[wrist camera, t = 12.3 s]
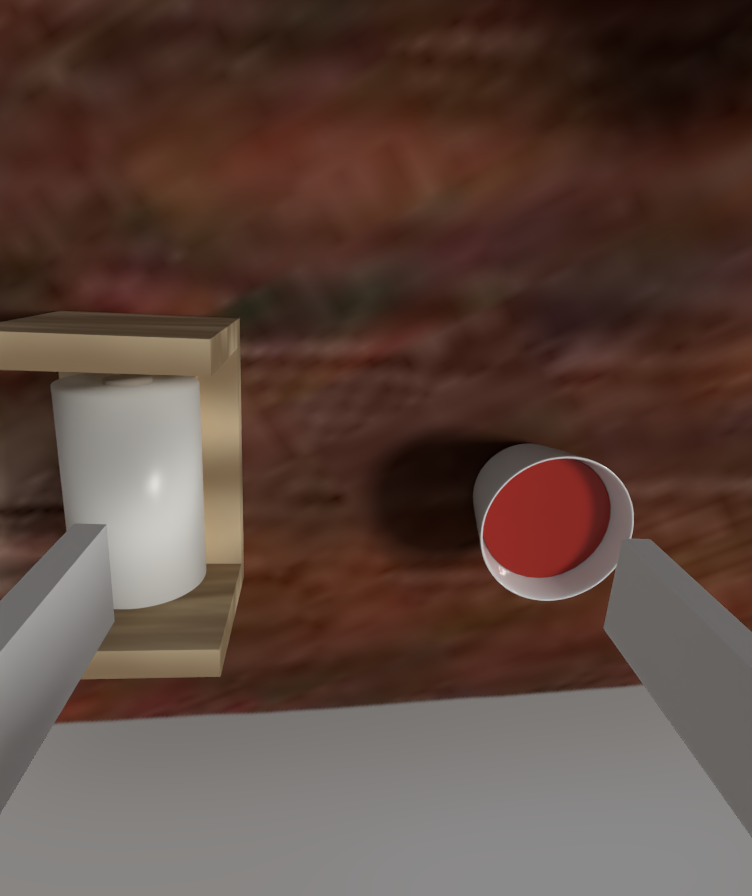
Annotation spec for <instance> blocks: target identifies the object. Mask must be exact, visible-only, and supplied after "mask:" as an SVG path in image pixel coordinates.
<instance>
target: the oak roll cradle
mask: <svg viewBox="0 0 752 896" xmlns="http://www.w3.org/2000/svg"><path fill="white" fill-rule="evenodd" d="M0 370H20V371H52V372H59V379H61V378H64V377H68V376H73V375H79V374H85V373H115V374H147V375H179V376H192V377H194V378H196V379H198V380H199V383H200V410H201V437H202V464H203V491H204V518H205V545H206V575H205V577H204V579H203V581H202V582H201V583H200V584H199V585H198V586H197V587H196V588H195V589H193V590H192V591H190V592H189V593H187V594H185V595H183V596H181V597H179V598H177V599H175V600H172V601H169V602H166V603H163V604H159V605H155V606H150V607H145V608H138V609H114V620H115V621H114V623H113V625H112V626H111V628H110V630H109V632H108V633H107V635H106V637H105V638H104V640H103V642H102V643H101V645H100V647H99V648H98V650H97V652H96V653H95V655H94V657H93V658H92V660H91V662H90V664H89V665H88V667H87V669H86V670H85V672H84V674H83V675H82V677H81V679H117V678H171V677H220V676H221V672H222V667H223V663H224V659H225V655H226V650H227V646H228V642H229V638H230V633H231V629H232V625H233V621H234V616H235V612H236V608H237V604H238V599H239V595H240V591H241V587H242V582H243V578H244V557H243V496H242V435H241V374H240V318H226V317H202V316H178V315H154V314H129V313H105V312H81V311H57V312H51V313H46V314H41V315H36V316H30V317H25V318H20V319H14V320H9V321H4V322H0Z"/></svg>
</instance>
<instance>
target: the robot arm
mask: <svg viewBox="0 0 752 896" xmlns="http://www.w3.org/2000/svg"><path fill="white" fill-rule="evenodd" d="M114 621H115V620H114V608H113V596H112V584H111V572H110V560H109V548H108V536H107V524H73V525H72V526H71V527H70V528H69V529H68V530H67V531H66V533H65V534H64V535H63V536H62V537H61V538H60V539H59V540H58V541H57V542H56V543H55V544H54V545H53V546H52V547H51V548H50V549H49V550H48V551H47V552H46V553H45V555H44V556H43V557H42V558H41V559H40V560H39V561H38V562H37V563H36V564H35V565H34V566H33V567H32V568H31V569H30V570H29V571H28V572H27V573H26V574H25V575H24V576H23V578H22V579H21V580H20V581H19V582H18V583H17V584H16V585H15V586H14V587H13V588H12V589H11V590H10V591H9V592H8V593H7V594H6V595H5V596H4V597H3V598H2V600H1V601H0V813H1V812H2V810H3V808H4V807H5V805H6V803H7V801H8V800H9V798H10V796H11V795H12V793H13V791H14V790H15V788H16V786H17V785H18V783H19V781H20V780H21V778H22V776H23V775H24V773H25V771H26V769H27V768H28V766H29V764H30V763H31V761H32V759H33V758H34V756H35V754H36V753H37V751H38V749H39V748H40V746H41V744H42V743H43V741H44V739H45V738H46V736H47V734H48V732H49V731H50V729H51V727H52V726H53V724H54V722H55V721H56V719H57V717H58V716H59V714H60V712H61V711H62V709H63V707H64V706H65V704H66V702H67V701H68V699H69V697H70V695H71V694H72V692H73V690H74V689H75V687H76V685H77V684H78V682H79V680H80V679H81V677H82V675H83V674H84V672H85V670H86V669H87V667H88V665H89V664H90V662H91V660H92V658H93V657H94V655H95V653H96V652H97V650H98V648H99V647H100V645H101V643H102V642H103V640H104V638H105V637H106V635H107V633H108V632H109V630H110V628H111V626H112V625H113V623H114ZM603 629H604V630H605V631H606V633H607V634H608V636H609V637H610V638H611V640H612V641H613V643H614V644H615V645H616V647H617V648H618V650H619V651H620V652H621V654H622V655H623V657H624V658H625V659H626V661H627V662H628V664H629V665H630V667H631V668H632V669H633V671H634V672H635V674H636V675H637V676H638V678H639V679H640V681H641V682H642V683H643V685H644V686H645V688H646V689H647V690H648V692H649V693H650V694H651V696H652V697H653V699H654V700H655V702H656V703H657V704H658V706H659V707H660V709H661V710H662V711H663V713H664V714H665V716H666V717H667V719H668V720H669V721H670V723H671V724H672V726H673V727H674V728H675V730H676V731H677V733H678V734H679V735H680V737H681V738H682V740H683V741H684V743H685V744H686V745H687V747H688V748H689V750H690V751H691V752H692V754H693V755H694V757H695V758H696V759H697V760H698V762H699V764H701V766H702V768H703V769H704V770H705V772H706V773H707V775H708V776H709V778H710V779H711V781H712V782H713V783H714V785H715V786H716V788H717V789H718V790H719V792H720V793H721V794H722V796H723V797H724V799H725V800H726V802H727V803H728V804H729V806H730V807H731V809H732V810H733V811H734V813H735V814H736V816H737V817H738V818H739V820H740V821H741V823H742V824H743V826H744V827H745V828H746V830H747V831H748V833H749V834H750V835H751V837H752V632H751V631H750V630H749V629H747V628H746V627H745V626H744V625H743V624H742V623H741V622H740V621H739V620H738V619H737V618H735V617H734V616H733V615H732V614H731V613H730V612H729V611H728V610H727V609H726V608H725V607H723V606H722V605H721V604H720V603H719V602H718V601H717V600H716V599H715V598H714V597H713V596H711V595H710V594H709V593H708V592H707V591H706V590H705V589H704V588H703V587H702V586H701V585H699V584H698V583H697V582H696V581H695V580H694V579H693V578H692V577H691V576H690V575H689V574H687V573H686V572H685V571H684V570H683V569H682V568H681V567H680V566H679V565H678V564H677V563H675V562H674V561H673V560H672V559H671V558H670V557H669V556H668V555H667V554H666V553H665V552H663V551H662V550H661V549H660V548H659V547H658V546H657V545H656V544H655V543H654V542H653V541H651V540H650V539H622V542H621V547H620V551H619V556H618V561H617V566H616V571H615V576H614V580H613V585H612V590H611V595H610V600H609V604H608V609H607V614H606V619H605V624H604V628H603Z"/></svg>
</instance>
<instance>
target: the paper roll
mask: <svg viewBox="0 0 752 896" xmlns="http://www.w3.org/2000/svg"><path fill="white" fill-rule="evenodd" d="M50 387H51V396H52V405H53V414H54V423H55V432H56V441H57V450H58V459H59V468H60V477H61V486H62V495H63V504H64V514H65V523H66V531H67V530H68V529H69V528H70V527H71V526H72V525H73V524H107V536H108V548H109V560H110V572H111V584H112V596H113V608H114V609H138V608H145V607H150V606H155V605H159V604H163V603H166V602H169V601H172V600H175V599H177V598H179V597H181V596H183V595H185V594H187V593H189V592H190V591H192V590H193V589H195V588H196V587H197V586H198V585H199V584H200V583H201V582H202V581H203V579H204V577H205V575H206V545H205V518H204V491H203V464H202V437H201V410H200V383H199V380H198V379H196V378H194V377H192V376H179V375H147V374H115V373H85V374H79V375H73V376H68V377H64V378H61V379H58V380H56V381H54V382H52V383H51V385H50Z"/></svg>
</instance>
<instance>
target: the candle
mask: <svg viewBox="0 0 752 896" xmlns="http://www.w3.org/2000/svg"><path fill="white" fill-rule="evenodd" d="M473 507H474V514H475V520H476V525H477V531H478V536H479V542H480V547H481V552H482V555H483V558H484V561H485V563H486V566H487V567H488V569H489V571H490V572H491V574H492V575H493V577H494V578H495V579H496V580H497V581H498V582H499V583H500V584H501V585H502V586H504V587H505V588H506V589H508V590H509V591H511V592H513V593H515V594H517V595H519V596H522V597H525V598H529V599H533V600H542V601H552V600H560V599H566V598H569V597H573V596H576V595H578V594H581V593H583V592H585V591H587V590H589V589H591V588H592V587H594V586H596V585H597V584H598V583H600V582H601V581H602V580H604V579H605V578H606V577H607V576H608V575H609V574H610V573H611V572H612V571H613V570H614V569H615V567H616V566H617V561H618V556H619V551H620V547H621V542H622V539H631V536H632V532H633V525H634V513H633V506H632V502H631V499H630V496H629V494H628V491H627V489H626V488H625V486H624V484H623V483H622V482H621V480H620V479H619V478H618V477H617V476H616V475H615V474H614V473H613V472H612V471H611V470H609V469H608V468H606V467H605V466H603V465H601V464H600V463H597V462H595V461H593V460H590V459H587V458H584V457H581V456H578V455H574V454H571V453H568V452H565V451H562V450H558V449H555V448H552V447H548V446H544V445H540V444H531V443H527V444H518V445H514V446H511V447H508V448H506V449H504V450H502V451H500V452H499V453H497V454H496V455H494V456H493V457H492V458H491V459H490V460H489V461H488V462H487V463H486V464H485V465H484V466H483V468H482V469H481V471H480V473H479V474H478V476H477V479H476V481H475V485H474V489H473Z"/></svg>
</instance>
